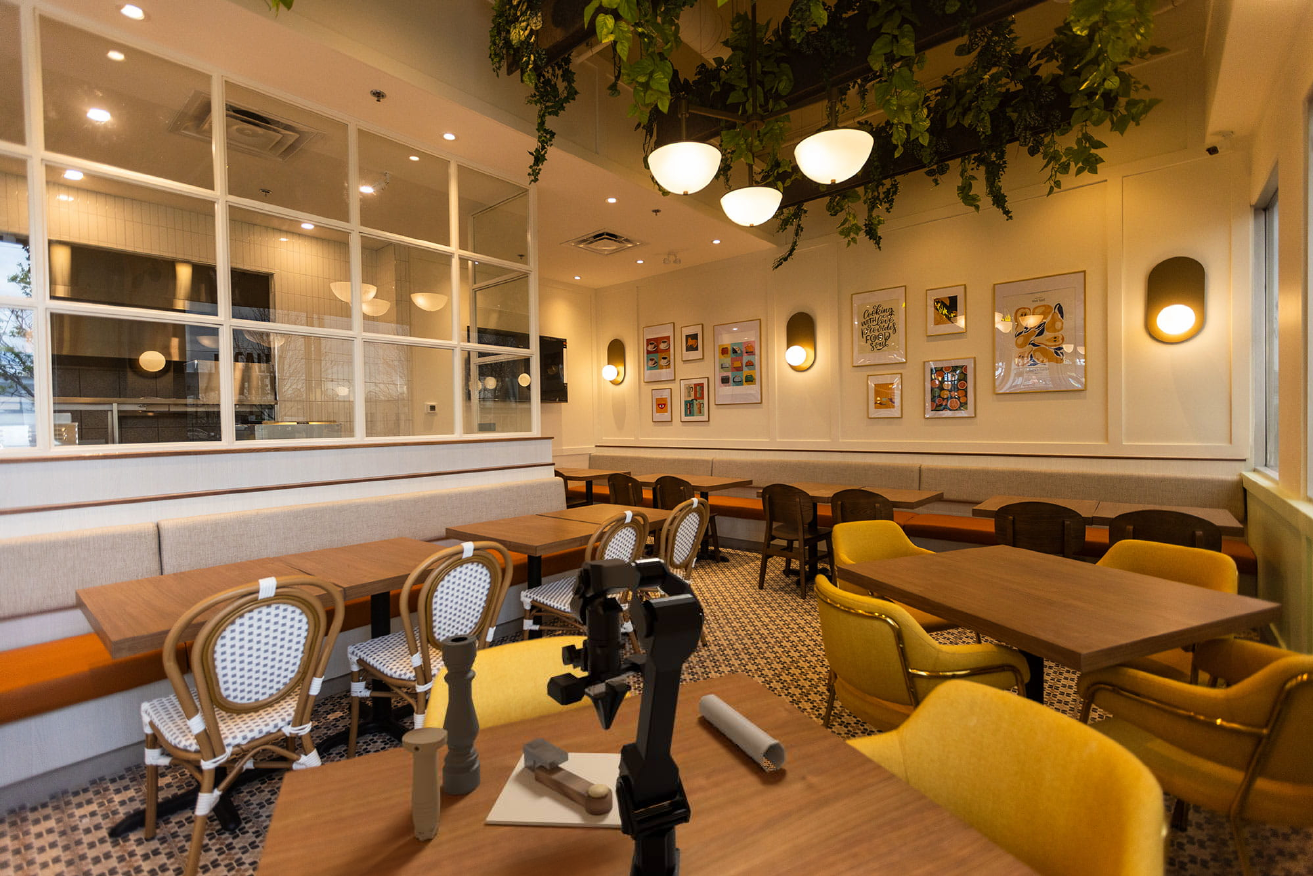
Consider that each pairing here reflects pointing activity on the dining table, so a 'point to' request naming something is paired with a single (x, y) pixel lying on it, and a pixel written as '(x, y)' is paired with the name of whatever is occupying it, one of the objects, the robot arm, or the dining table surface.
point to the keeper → (542, 754)
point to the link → (574, 789)
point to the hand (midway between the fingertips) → (606, 728)
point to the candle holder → (460, 716)
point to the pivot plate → (558, 795)
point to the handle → (425, 778)
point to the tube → (742, 732)
